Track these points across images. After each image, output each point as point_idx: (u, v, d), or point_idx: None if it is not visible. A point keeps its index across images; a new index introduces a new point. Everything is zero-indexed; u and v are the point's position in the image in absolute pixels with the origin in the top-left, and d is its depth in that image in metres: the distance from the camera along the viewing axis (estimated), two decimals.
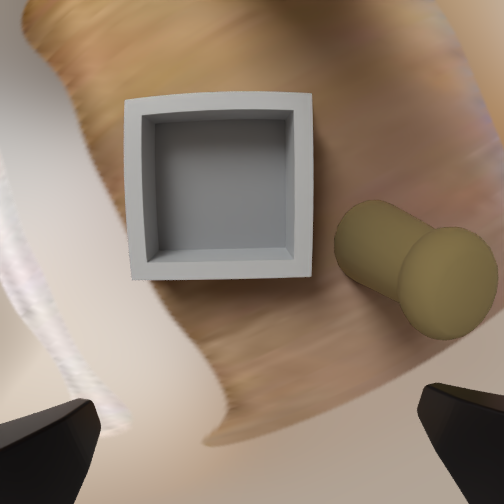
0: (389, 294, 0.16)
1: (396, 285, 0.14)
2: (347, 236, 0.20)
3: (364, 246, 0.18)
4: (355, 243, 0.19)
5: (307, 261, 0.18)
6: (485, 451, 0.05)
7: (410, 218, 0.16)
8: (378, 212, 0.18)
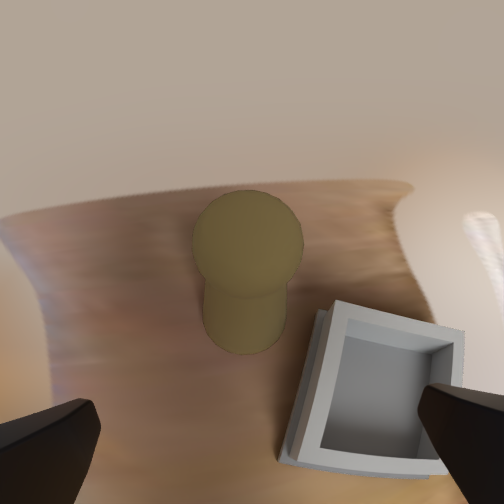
0: None
1: None
2: (280, 326, 0.21)
3: (281, 311, 0.19)
4: (281, 317, 0.20)
5: (337, 313, 0.19)
6: (485, 451, 0.05)
7: (232, 321, 0.18)
8: (249, 338, 0.19)
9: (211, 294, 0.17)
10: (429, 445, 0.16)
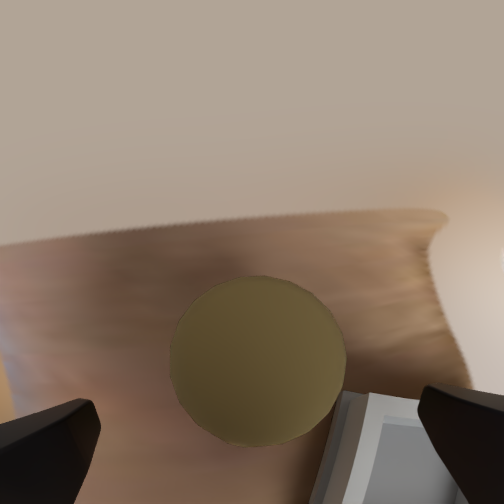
0: None
1: None
2: None
3: None
4: None
5: (371, 410, 0.13)
6: (485, 451, 0.05)
7: None
8: None
9: None
10: None
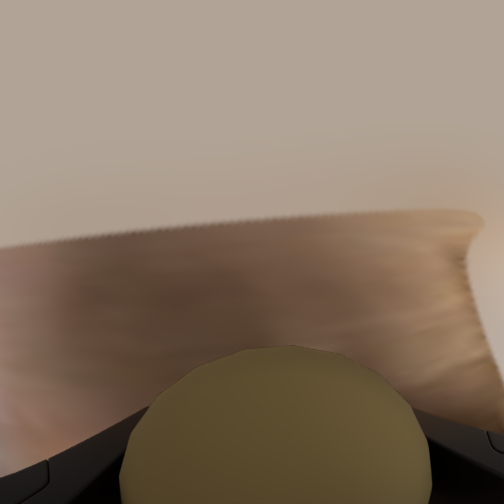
0: None
1: None
2: None
3: None
4: None
5: None
6: None
7: None
8: None
9: None
10: None
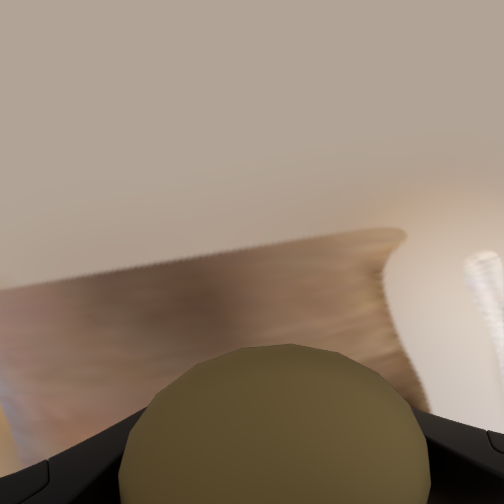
0: None
1: None
2: None
3: None
4: None
5: None
6: None
7: None
8: None
9: None
10: None
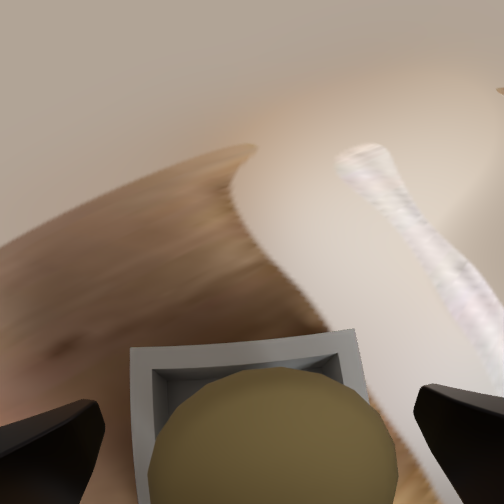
0: None
1: None
2: None
3: None
4: None
5: (135, 366, 0.13)
6: (481, 453, 0.05)
7: None
8: None
9: None
10: None
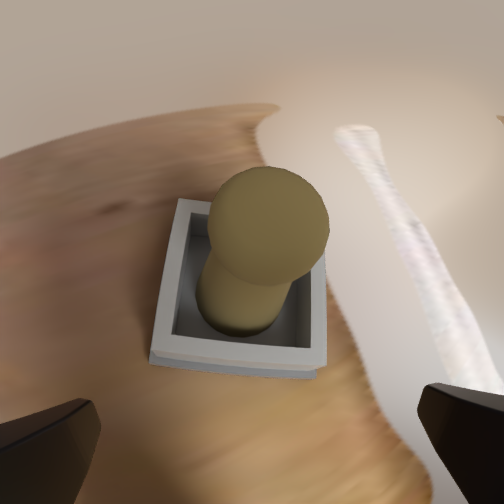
0: None
1: None
2: (276, 315, 0.20)
3: (282, 300, 0.18)
4: (280, 306, 0.19)
5: (180, 209, 0.21)
6: (485, 451, 0.05)
7: (231, 302, 0.17)
8: (243, 322, 0.18)
9: (215, 270, 0.16)
10: (302, 337, 0.20)
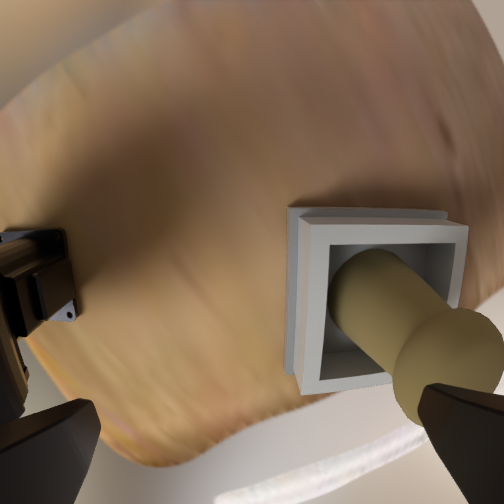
0: None
1: None
2: None
3: None
4: None
5: (458, 230, 0.16)
6: (485, 451, 0.05)
7: (370, 314, 0.15)
8: (346, 315, 0.17)
9: (405, 302, 0.13)
10: (329, 365, 0.19)
